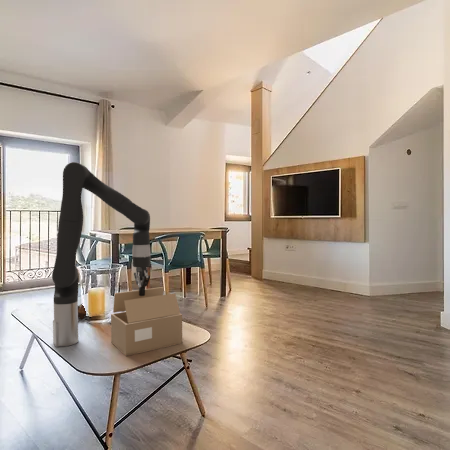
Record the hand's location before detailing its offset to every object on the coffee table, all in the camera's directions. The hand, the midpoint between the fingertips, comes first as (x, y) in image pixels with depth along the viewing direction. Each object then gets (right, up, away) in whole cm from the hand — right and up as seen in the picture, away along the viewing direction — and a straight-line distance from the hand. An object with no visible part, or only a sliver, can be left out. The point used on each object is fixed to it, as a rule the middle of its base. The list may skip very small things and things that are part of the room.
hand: (142, 295), depth 152 cm
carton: (+3, -19, -3) cm, 20 cm away
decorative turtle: (-37, -19, +34) cm, 54 cm away
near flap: (+6, -3, -9) cm, 12 cm away
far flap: (-2, -2, +3) cm, 4 cm away
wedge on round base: (-16, -19, +24) cm, 35 cm away
